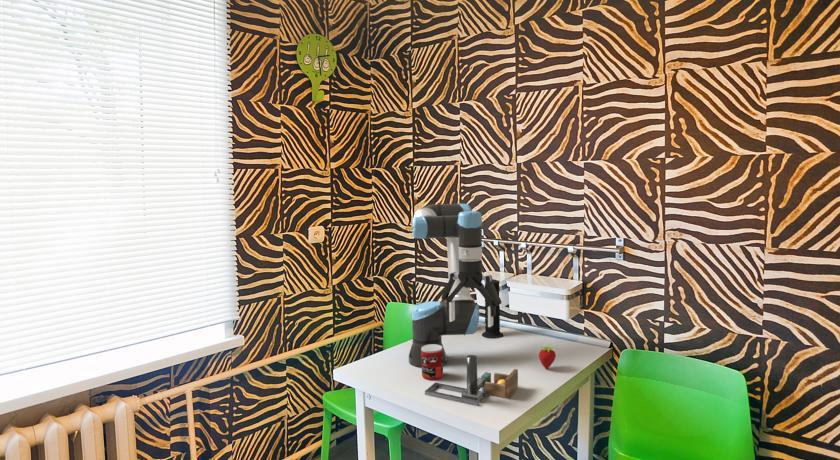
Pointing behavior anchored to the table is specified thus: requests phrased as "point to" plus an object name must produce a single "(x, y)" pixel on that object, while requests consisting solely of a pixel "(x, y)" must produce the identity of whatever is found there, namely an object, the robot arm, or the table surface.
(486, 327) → the handle grip
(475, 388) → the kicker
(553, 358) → the strawberry
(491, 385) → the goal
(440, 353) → the canned food
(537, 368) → the table surface
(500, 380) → the ball
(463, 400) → the rail
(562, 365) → the table surface
